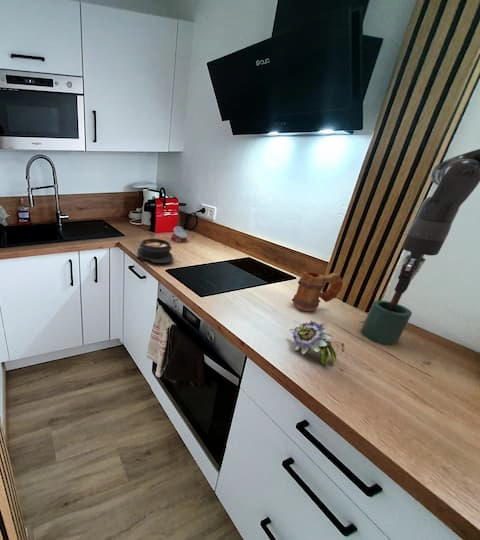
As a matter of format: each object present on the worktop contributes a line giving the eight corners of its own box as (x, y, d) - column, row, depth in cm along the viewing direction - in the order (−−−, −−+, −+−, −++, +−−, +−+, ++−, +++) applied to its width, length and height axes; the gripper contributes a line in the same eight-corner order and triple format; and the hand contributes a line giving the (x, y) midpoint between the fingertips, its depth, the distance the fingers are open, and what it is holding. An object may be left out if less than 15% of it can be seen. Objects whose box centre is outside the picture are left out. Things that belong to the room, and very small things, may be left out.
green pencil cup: (383, 329, 96) (396, 301, 92) (404, 346, 88) (420, 316, 84) (354, 327, 97) (366, 299, 93) (372, 343, 89) (386, 313, 85)
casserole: (130, 251, 161) (130, 237, 158) (159, 248, 167) (160, 234, 164) (148, 268, 140) (150, 252, 137) (181, 264, 146) (183, 248, 143)
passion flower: (292, 364, 87) (279, 326, 89) (324, 356, 88) (311, 317, 90) (320, 370, 76) (304, 326, 78) (356, 360, 77) (340, 317, 79)
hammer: (385, 323, 93) (409, 273, 86) (395, 331, 89) (421, 279, 82) (370, 322, 93) (393, 272, 86) (380, 329, 89) (404, 278, 82)
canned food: (182, 245, 189) (190, 232, 186) (183, 248, 180) (192, 235, 177) (167, 236, 189) (175, 223, 186) (168, 239, 179) (176, 225, 176)
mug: (293, 312, 105) (305, 275, 99) (286, 301, 113) (296, 266, 107) (337, 317, 103) (351, 279, 97) (326, 305, 110) (339, 270, 104)
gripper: (441, 243, 72) (411, 302, 79) (449, 235, 80) (421, 289, 87) (402, 236, 78) (378, 292, 85) (413, 229, 86) (389, 280, 93)
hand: (400, 290), depth 86 cm, fingers closed on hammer, 2 cm apart
